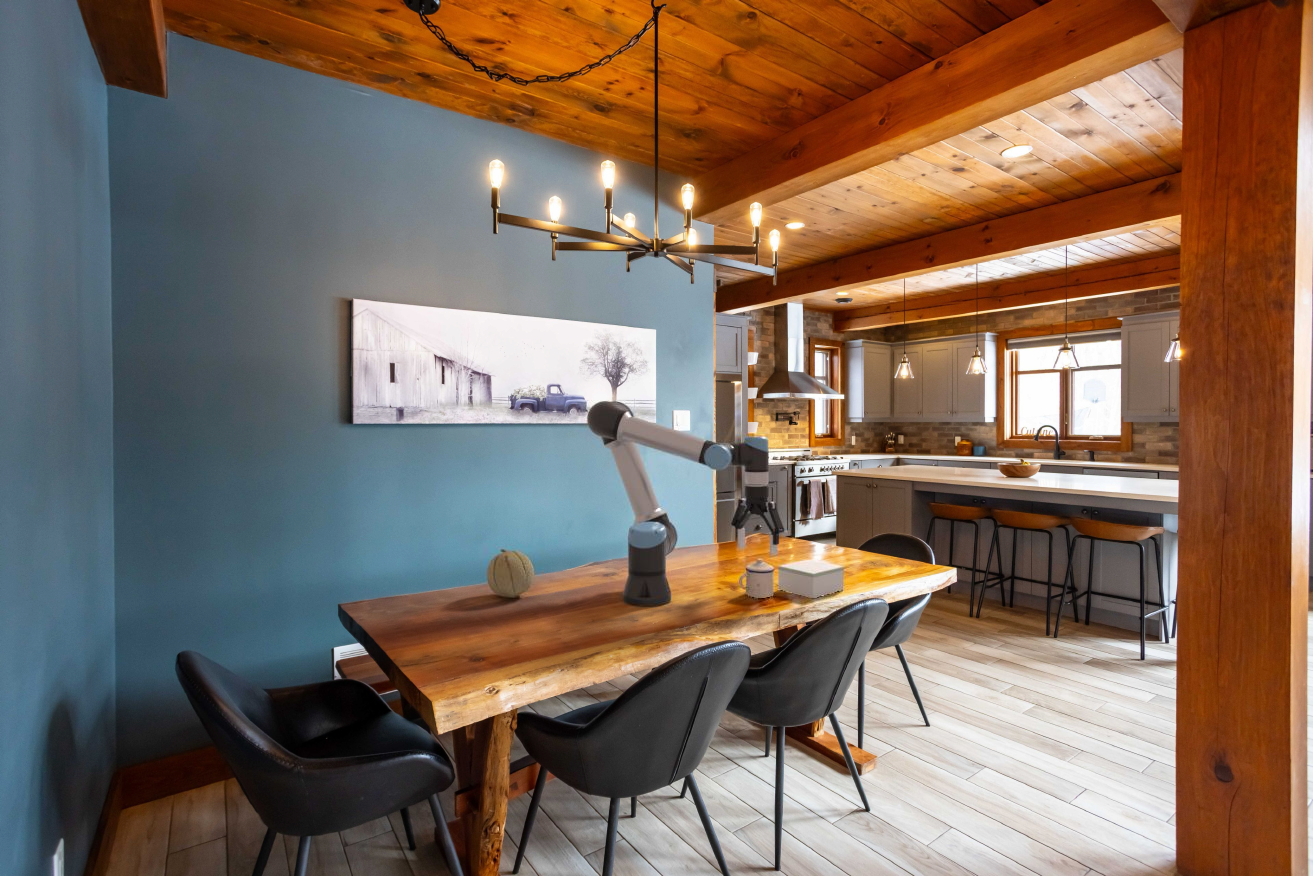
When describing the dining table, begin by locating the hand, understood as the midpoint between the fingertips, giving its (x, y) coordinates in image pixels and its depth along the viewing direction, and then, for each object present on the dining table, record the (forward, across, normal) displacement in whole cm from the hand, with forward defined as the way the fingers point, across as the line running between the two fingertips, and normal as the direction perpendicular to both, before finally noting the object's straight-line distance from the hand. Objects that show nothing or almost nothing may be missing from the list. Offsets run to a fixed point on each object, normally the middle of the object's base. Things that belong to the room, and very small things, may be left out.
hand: (757, 551), depth 211 cm
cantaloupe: (+13, +48, +61) cm, 79 cm away
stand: (+14, -7, -19) cm, 24 cm away
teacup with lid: (+14, 0, 0) cm, 14 cm away
